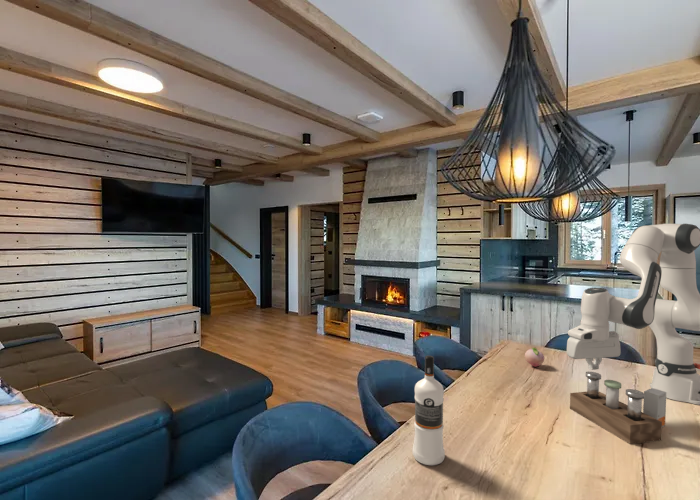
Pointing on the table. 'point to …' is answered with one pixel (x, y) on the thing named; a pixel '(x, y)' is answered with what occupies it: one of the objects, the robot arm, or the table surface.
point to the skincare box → (655, 404)
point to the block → (616, 419)
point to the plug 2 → (634, 404)
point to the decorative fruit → (534, 357)
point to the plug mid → (612, 394)
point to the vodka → (429, 418)
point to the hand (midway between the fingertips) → (593, 369)
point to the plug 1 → (593, 384)
